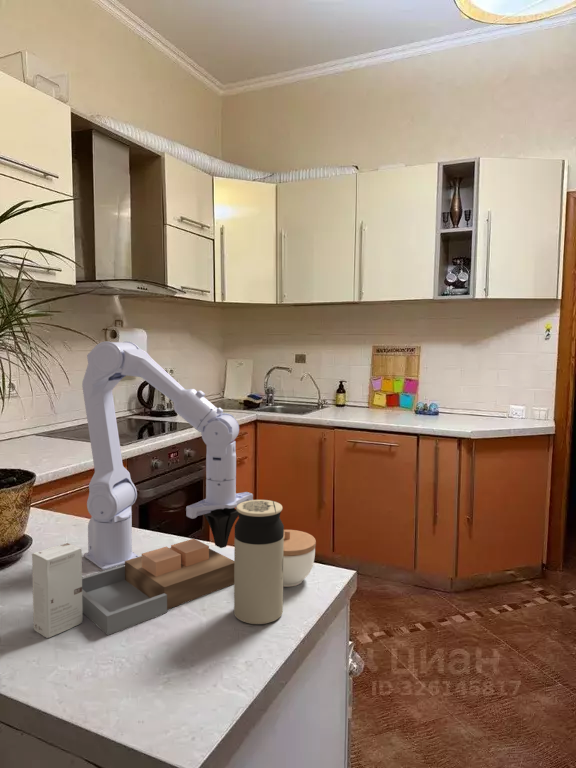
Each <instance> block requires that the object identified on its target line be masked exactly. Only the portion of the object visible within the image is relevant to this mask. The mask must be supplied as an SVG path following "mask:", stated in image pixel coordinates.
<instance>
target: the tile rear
mask: <svg viewBox="0 0 576 768" xmlns="http://www.w3.org/2000/svg"><path fill="white" fill-rule="evenodd" d="M170 548H171V549H172V550H173V551H175V552H177V553H179V554H181V564H182V565H184V566H190V565H193V564H196V563H199V562H202V561H205V560H208V559H209V549H210V545H209V544H208V545H207V544H205V543H204V542H202V541H200V540H198V539H195V538H192V539H188V540H184V541H181V542H177V543H174V544H171V545H170Z"/></svg>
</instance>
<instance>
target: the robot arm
mask: <svg viewBox="0 0 576 768" xmlns="http://www.w3.org/2000/svg"><path fill="white" fill-rule="evenodd" d="M86 356H87V357H86V358H87V366H86V369H85V372H84V376H83V379H82V385H81V387H82V394H83V399H84V407H85V414H86V419H87V425H88V426H87V427H88V434H89V441H90V448H91V454H92V461H93V467H94V473H93V475H92V477H91V478H90V481H89V483H88V490H89V493H88V498H87V501H86V507H87V511H88V514H89V515H90V516H91V517H90V519H89V521H88V524H87V548H88V549H87V550H88V552H85V553H83V556H84V557H85V558H86V559H87V560H89V561H90V562H92V564H94V565H95V566H97V567H98V568H99V569H101V570H102V571H104V570H108V569H111V568H114V567H118V566H121V565H125V561H127V560H130V559H134V558H137V557H140V555H138V554H137V553H135V552H133V525H132V520H133V519H132V517H133V516H132V515H133V514H132V513H133V511H132V506H133V505H134V504H135V503H136V501H137V498H138V492H137V491H138V490H137V487H136V486H135V484H134V482H133V481H132V479H131V478H132V477H131V473H130V472H129V470H127V469H126V467H124V464H123V457H122V449H121V442H120V436H119V429H118V422H117V415H116V409H115V401H114V394H113V390H114V388H115V387H116V386H117V385H118V384H119V383H120V382H121V381H122V379H124V378H125V377H135V378H141V379H142V380H144V381H145V382H147V383H148V384H149V385H150V386H152V387H153V388H154V389H156V390H157V391H158V392H160V393H161V394H162V395H164V396H165V397H166V398H167V399H169V400H170V401H172V403H173V409H174V412H175V413H176V414H177V415H179V416H180V417H181V418H182V419H183V420H184V421H186V422H187V423H188V424H189V425H190V426H191V427H193V428H194V429H195V430H196V431H197V432H199V433H200V434H201V439H202V441H203V442H204V444H205V445H206V455H205V456H206V457H205V458H206V459H205V467H206V468H205V472H206V473H205V478H206V479H205V485H206V486H205V498H204V499H202V500H200V501H198V502H195V503H192V504H190V505H187V506H186V508H185V511H186V515H185V516H186V517H187V518H189V519H192V520H193V519H196V518H197V517H198V516H204V517H205V519H206V521H207V523H208V525H209V528H210V530H211V533H212V538H213V541H214V546H215V547H218V548H220V549H222V548H226V547H228V546H227V545H228V542H229V538H230V535H231V532H232V528H233V526H234V525H235V522H236V521H237V519H238V518H239V515H238V511H237V510H236V507H237V505H238V504H240V503H242V502H245V501H250V500H254V494H253V493H251V492H248V491H243V492H238V493H237V492H236V491H237V486H236V485H237V454H236V453H237V452H236V450H237V449H236V448H237V447H236V443H237V442H236V438H237V437H238V435H239V433H240V424H239V422H238V421H237V419H236V418H235V416H234V415H233V414H231V413H227V412H224V409H223V408H221V407H217V406H215V404H214V403H212V402H211V401H210V400H208V399H207V398H206V397H205V396H206V393H205V392H203V390H201V389H200V390H196V389H195V388H187V389H186V388H185V387H184V386H183V385H181V384H180V383H179V381H177V380H176V379H175V378H174V377H173V376H172V375H171V374H169V373H168V371H166V370H165V369H164V368H163V367H162V366H161V365H160V364H159V363H158V362H156V360H154V359H153V358H152V357H151V356H150V354H149V353H148V351H145V350H144V349H142V348H140V347H139V346H138V345H137V344H136V343H134V342H132V341H127V340H126V341H106V340H105V341H102V342H99V343H97V344H96V345H95V346H94V347H93V348H92V349H91V350H90V351H89V353H88V354H86Z"/></svg>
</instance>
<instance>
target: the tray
mask: <svg viewBox="0 0 576 768" xmlns="http://www.w3.org/2000/svg"><path fill="white" fill-rule="evenodd" d="M82 613H83V615H85V616H86V617H87V618H88V619H89V620H90V621H91V622H92V623H93V624H95V626H97V627H98V628H99V629H100V630H101V631H102V632H103V633H104V634H105V635H106V636H109V635H112V634H115V633H118V632H119V631H123V630H125V629H127V628H131V627H133V626H136V625H138V623H139V624H140V623H143V622H146V621H149V620H151V619H155V618H156V616H157V617H159V616H162V615H165V614H167V613H168V610H167V595H166V594H165V593H163V594H161V595H158V596H155V597H152V598H149V597H148V596H147V595H145V594H144V593H142V592H141V591H140V590H138V589H137V588H135V587H134V586H133V585H131V584H130V583H129V582H127V581H126V580H125V564H123V565H119V566H116V567H113V568H109V569H106V570H102V571H99V572H98V571H97V572H94V573H92V574H91V573H90V574H88V575H85V576H84V575H83V576H82ZM161 614H162V615H161Z"/></svg>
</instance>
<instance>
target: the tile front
mask: <svg viewBox="0 0 576 768" xmlns="http://www.w3.org/2000/svg"><path fill="white" fill-rule="evenodd" d="M170 548H171V547H168V546H163V547H159V548H156V549H153V550H150V551H147V552H144V553H141V556H142V568H144V569H145V570H147V571H148V572H150V573H151V574H153V575H154V576H159V575H162V574H165V573H168V572H171V571H174V570H177V569H180V568H181V554H179V553H177V552H175V551H173V550H172V549H170Z"/></svg>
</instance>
